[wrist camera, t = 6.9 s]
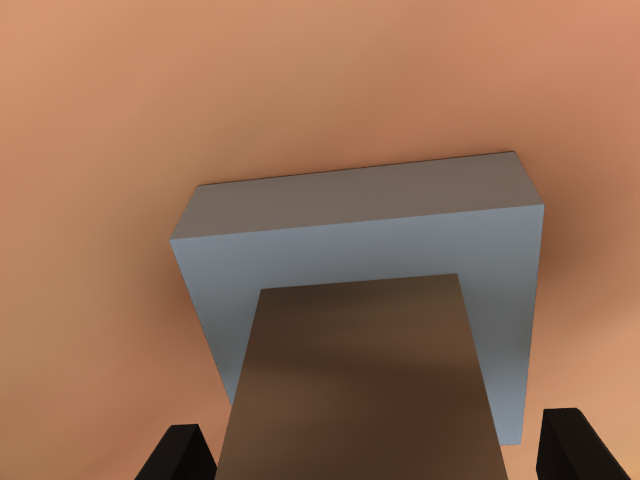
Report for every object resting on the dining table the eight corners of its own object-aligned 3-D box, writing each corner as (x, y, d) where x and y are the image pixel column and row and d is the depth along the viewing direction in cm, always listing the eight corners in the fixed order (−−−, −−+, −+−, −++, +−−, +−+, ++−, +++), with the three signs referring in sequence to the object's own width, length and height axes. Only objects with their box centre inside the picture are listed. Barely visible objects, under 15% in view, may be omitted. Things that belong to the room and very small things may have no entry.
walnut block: (295, 411, 15) (262, 677, 10) (261, 289, 12) (194, 563, 7) (458, 403, 14) (511, 684, 9) (457, 273, 12) (528, 561, 7)
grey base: (262, 388, 18) (249, 453, 16) (197, 185, 14) (168, 239, 12) (501, 376, 17) (520, 444, 15) (514, 151, 13) (544, 204, 11)
